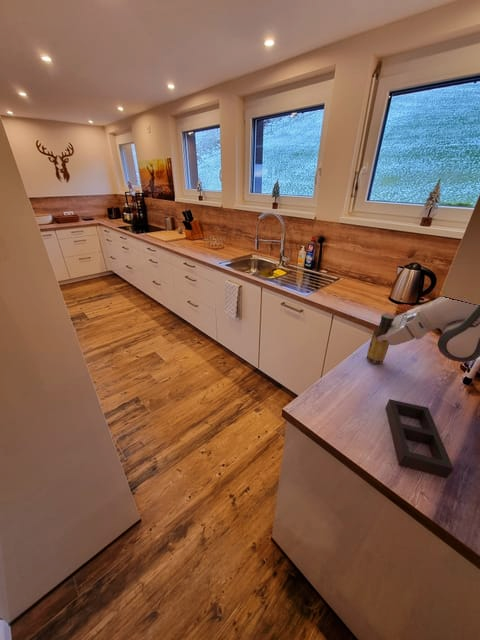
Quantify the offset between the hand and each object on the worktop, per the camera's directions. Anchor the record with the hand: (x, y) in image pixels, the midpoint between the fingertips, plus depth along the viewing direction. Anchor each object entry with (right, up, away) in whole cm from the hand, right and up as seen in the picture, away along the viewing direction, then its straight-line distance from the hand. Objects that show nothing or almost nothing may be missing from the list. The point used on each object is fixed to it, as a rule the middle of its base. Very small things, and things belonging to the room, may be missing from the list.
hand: (380, 335), depth 98 cm
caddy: (-5, -28, -25) cm, 38 cm away
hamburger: (+34, +7, +40) cm, 53 cm away
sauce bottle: (0, -10, +5) cm, 12 cm away
